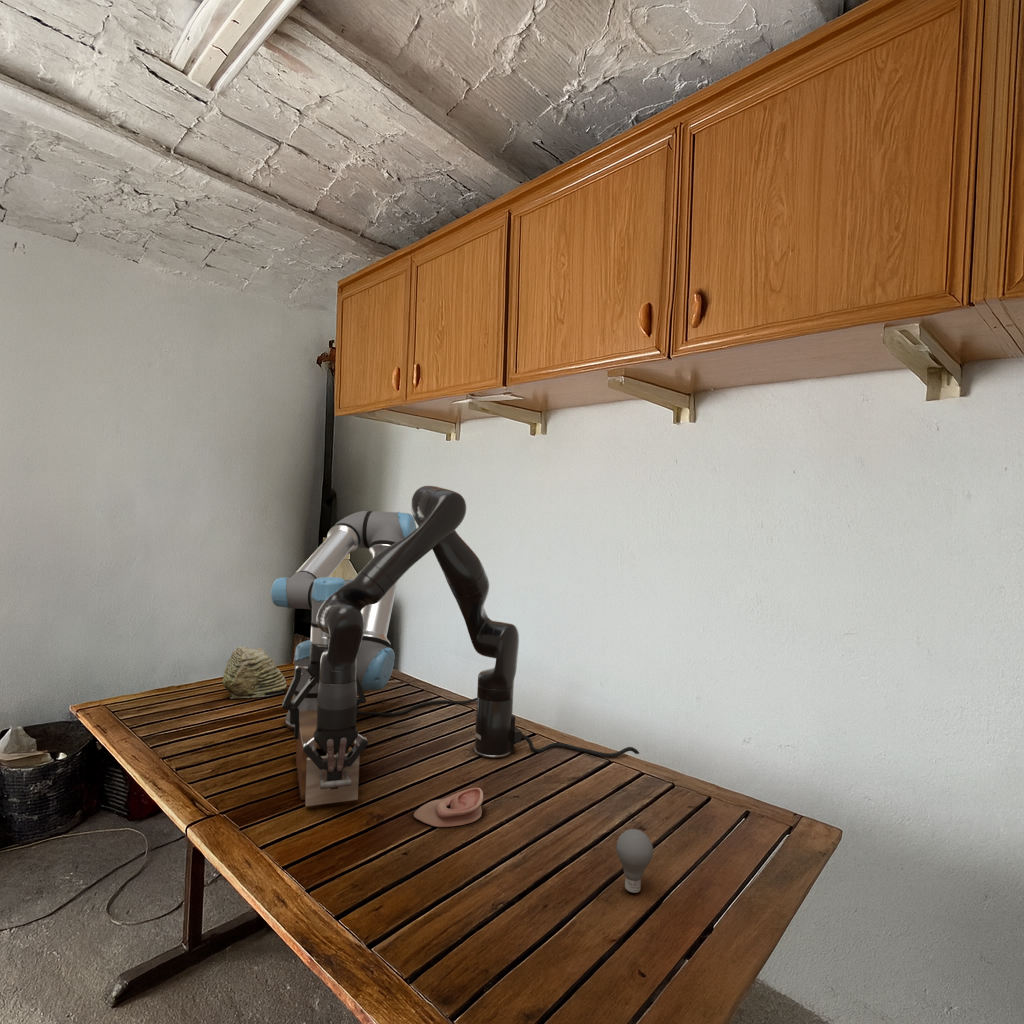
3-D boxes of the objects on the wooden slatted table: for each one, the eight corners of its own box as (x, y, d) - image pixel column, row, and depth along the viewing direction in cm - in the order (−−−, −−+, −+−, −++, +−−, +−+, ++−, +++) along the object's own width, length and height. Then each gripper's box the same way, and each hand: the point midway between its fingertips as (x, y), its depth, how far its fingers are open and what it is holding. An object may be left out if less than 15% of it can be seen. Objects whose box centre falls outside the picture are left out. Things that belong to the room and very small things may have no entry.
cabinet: (357, 793, 136) (359, 739, 136) (300, 800, 132) (302, 745, 132) (345, 753, 156) (346, 707, 156) (295, 758, 152) (297, 711, 152)
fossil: (218, 695, 195) (220, 647, 195) (278, 685, 208) (279, 640, 207) (228, 703, 189) (230, 653, 188) (289, 692, 201) (290, 645, 201)
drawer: (361, 812, 126) (363, 765, 126) (307, 820, 122) (309, 771, 122) (346, 760, 150) (347, 720, 150) (300, 765, 146) (301, 724, 146)
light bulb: (610, 879, 108) (613, 822, 108) (644, 879, 109) (647, 822, 109) (619, 902, 102) (622, 840, 102) (655, 901, 103) (658, 840, 103)
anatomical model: (408, 802, 124) (427, 778, 135) (407, 822, 124) (427, 796, 136) (473, 812, 122) (488, 786, 133) (473, 832, 122) (487, 805, 133)
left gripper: (273, 649, 141) (269, 746, 142) (380, 645, 150) (377, 735, 151) (272, 642, 148) (269, 734, 149) (375, 638, 157) (371, 724, 158)
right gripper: (303, 711, 120) (300, 801, 120) (373, 705, 124) (370, 791, 125) (301, 698, 127) (298, 783, 127) (368, 693, 131) (365, 775, 132)
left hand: (323, 735), depth 150 cm, fingers closed on cabinet, 11 cm apart
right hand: (334, 787), depth 126 cm, fingers closed
